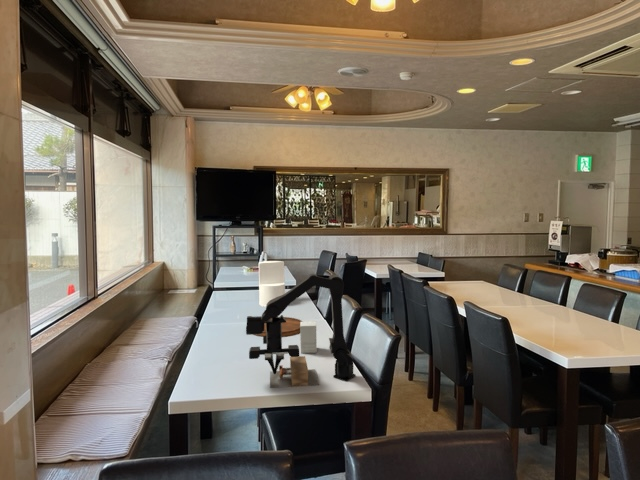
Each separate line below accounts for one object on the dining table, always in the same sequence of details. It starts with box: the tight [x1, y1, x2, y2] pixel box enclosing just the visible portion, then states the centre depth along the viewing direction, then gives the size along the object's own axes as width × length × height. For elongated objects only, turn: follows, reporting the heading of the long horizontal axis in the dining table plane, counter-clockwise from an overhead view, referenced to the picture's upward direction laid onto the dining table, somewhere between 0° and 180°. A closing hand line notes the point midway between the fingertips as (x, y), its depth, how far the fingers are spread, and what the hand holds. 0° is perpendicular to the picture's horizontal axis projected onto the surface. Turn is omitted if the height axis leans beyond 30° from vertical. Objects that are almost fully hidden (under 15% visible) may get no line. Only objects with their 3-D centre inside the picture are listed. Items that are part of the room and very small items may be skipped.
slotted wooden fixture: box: [269, 355, 320, 389], centre depth 161 cm, size 18×14×6 cm
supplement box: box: [299, 321, 318, 354], centre depth 192 cm, size 7×7×13 cm
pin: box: [278, 364, 291, 378], centre depth 161 cm, size 10×5×5 cm, turn 97°
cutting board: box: [254, 316, 304, 338], centre depth 227 cm, size 32×32×2 cm
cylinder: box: [258, 260, 286, 308], centre depth 281 cm, size 17×17×28 cm
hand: (274, 373), depth 160 cm, fingers closed
